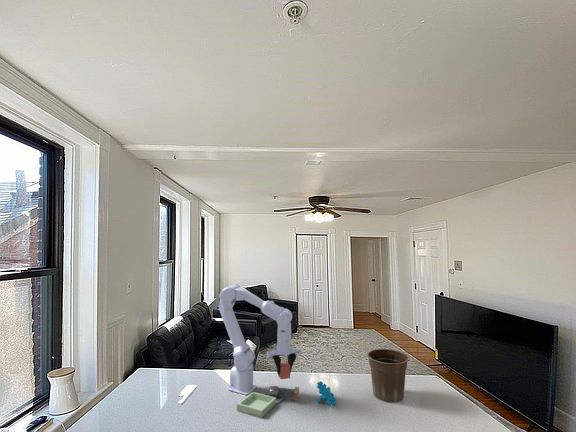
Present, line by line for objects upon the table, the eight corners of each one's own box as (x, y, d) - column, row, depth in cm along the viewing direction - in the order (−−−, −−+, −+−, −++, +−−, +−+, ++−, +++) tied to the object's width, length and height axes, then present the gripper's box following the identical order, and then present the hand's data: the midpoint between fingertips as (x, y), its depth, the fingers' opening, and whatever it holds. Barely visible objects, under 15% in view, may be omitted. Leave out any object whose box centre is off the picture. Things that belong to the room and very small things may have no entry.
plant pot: (385, 409, 128) (385, 365, 128) (359, 390, 142) (359, 351, 143) (417, 400, 134) (417, 359, 135) (390, 383, 149) (389, 346, 150)
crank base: (263, 400, 134) (263, 398, 134) (275, 389, 143) (275, 388, 143) (277, 404, 131) (277, 402, 131) (288, 393, 140) (288, 391, 140)
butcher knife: (169, 404, 131) (169, 401, 131) (185, 387, 146) (185, 384, 146) (181, 405, 131) (181, 402, 131) (197, 387, 145) (197, 384, 145)
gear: (334, 407, 126) (316, 384, 129) (323, 417, 126) (305, 394, 130) (339, 397, 136) (323, 376, 139) (329, 407, 137) (313, 386, 140)
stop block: (280, 379, 137) (280, 366, 138) (277, 375, 141) (278, 363, 141) (290, 378, 139) (290, 365, 139) (287, 374, 142) (287, 362, 143)
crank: (267, 399, 133) (267, 391, 133) (269, 393, 138) (269, 385, 138) (297, 401, 132) (298, 393, 132) (299, 395, 137) (299, 387, 137)
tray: (236, 410, 126) (236, 403, 126) (252, 398, 136) (252, 391, 136) (261, 418, 121) (261, 411, 121) (276, 404, 131) (276, 397, 131)
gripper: (270, 344, 134) (269, 379, 134) (303, 340, 139) (303, 374, 139) (265, 338, 141) (265, 372, 141) (298, 335, 146) (297, 367, 145)
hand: (283, 372), depth 140 cm, fingers closed on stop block, 4 cm apart
